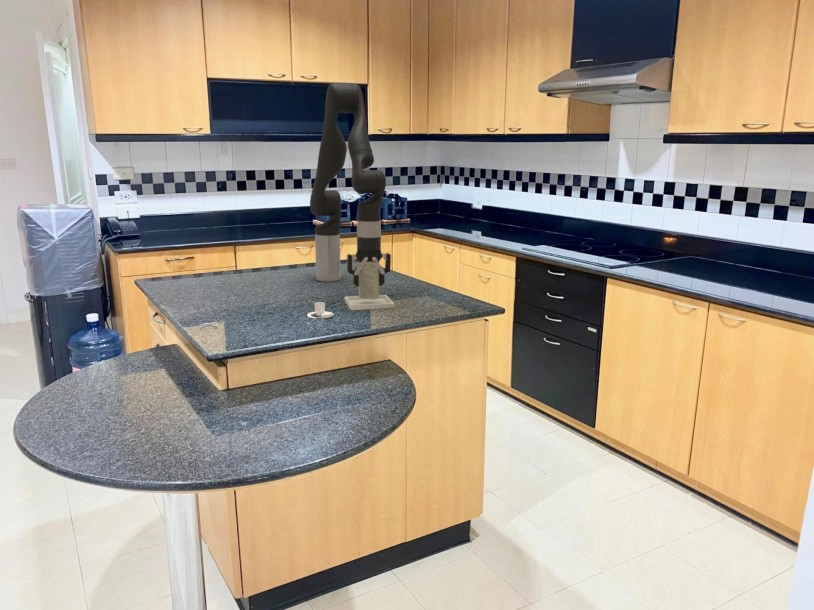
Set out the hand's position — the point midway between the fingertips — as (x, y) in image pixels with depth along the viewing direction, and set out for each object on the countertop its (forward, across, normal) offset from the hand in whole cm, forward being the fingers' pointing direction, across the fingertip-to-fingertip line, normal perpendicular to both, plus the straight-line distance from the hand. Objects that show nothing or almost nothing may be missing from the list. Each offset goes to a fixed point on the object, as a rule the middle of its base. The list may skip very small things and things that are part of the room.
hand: (368, 285), depth 206 cm
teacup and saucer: (+7, +18, +12) cm, 23 cm away
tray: (+6, 0, 0) cm, 6 cm away
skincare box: (+4, 0, 0) cm, 4 cm away
